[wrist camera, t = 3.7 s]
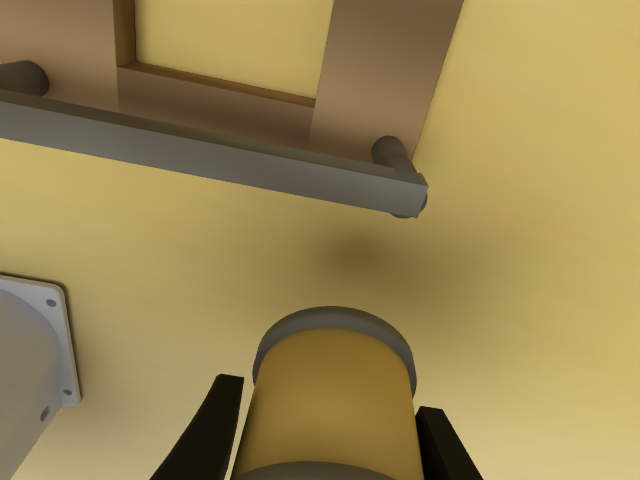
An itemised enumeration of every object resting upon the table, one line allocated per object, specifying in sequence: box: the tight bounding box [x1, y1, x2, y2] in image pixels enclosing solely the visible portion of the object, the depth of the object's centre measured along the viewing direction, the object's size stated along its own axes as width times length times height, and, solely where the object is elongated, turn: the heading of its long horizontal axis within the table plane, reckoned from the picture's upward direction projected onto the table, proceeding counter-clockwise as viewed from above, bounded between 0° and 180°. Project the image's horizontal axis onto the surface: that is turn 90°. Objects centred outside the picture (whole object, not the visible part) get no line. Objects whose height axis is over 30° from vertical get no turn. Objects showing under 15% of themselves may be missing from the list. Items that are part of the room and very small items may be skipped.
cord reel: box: [230, 306, 424, 480], centre depth 10 cm, size 5×5×5 cm
